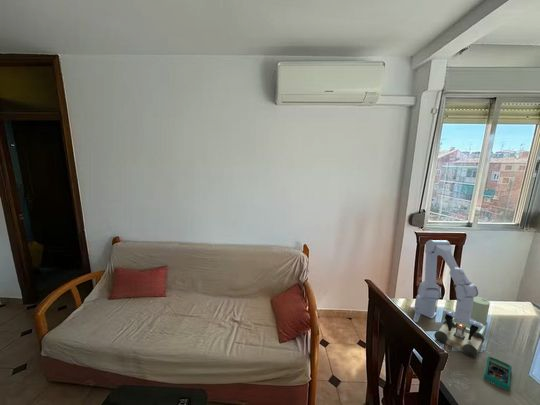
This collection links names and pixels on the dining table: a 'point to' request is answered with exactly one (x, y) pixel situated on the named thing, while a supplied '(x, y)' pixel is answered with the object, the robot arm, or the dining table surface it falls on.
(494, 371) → the digital multimeter
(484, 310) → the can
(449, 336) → the trolley
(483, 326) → the tray
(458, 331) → the stop pin
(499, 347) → the dining table surface
